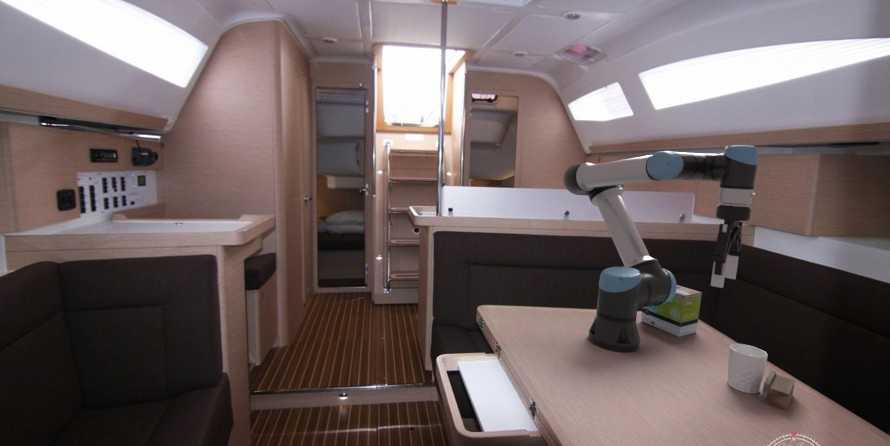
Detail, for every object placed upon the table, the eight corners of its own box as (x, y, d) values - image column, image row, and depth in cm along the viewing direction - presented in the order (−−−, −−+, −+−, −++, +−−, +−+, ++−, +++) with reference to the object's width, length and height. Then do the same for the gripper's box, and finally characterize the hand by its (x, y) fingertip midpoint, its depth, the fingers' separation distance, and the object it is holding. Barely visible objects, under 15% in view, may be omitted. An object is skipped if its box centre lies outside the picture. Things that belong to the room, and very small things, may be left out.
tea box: (639, 322, 152) (643, 282, 149) (657, 318, 156) (661, 279, 154) (679, 337, 138) (684, 294, 136) (697, 333, 143) (703, 291, 141)
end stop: (761, 401, 101) (764, 382, 100) (768, 387, 108) (771, 369, 107) (786, 410, 98) (789, 391, 97) (792, 395, 105) (795, 377, 104)
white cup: (768, 397, 103) (774, 359, 102) (732, 392, 105) (738, 354, 103) (752, 381, 111) (757, 345, 110) (719, 377, 112) (724, 341, 111)
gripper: (740, 208, 100) (728, 294, 103) (760, 204, 118) (749, 277, 121) (704, 205, 105) (694, 287, 108) (729, 201, 123) (719, 272, 126)
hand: (723, 282), depth 115 cm, fingers open, 13 cm apart
